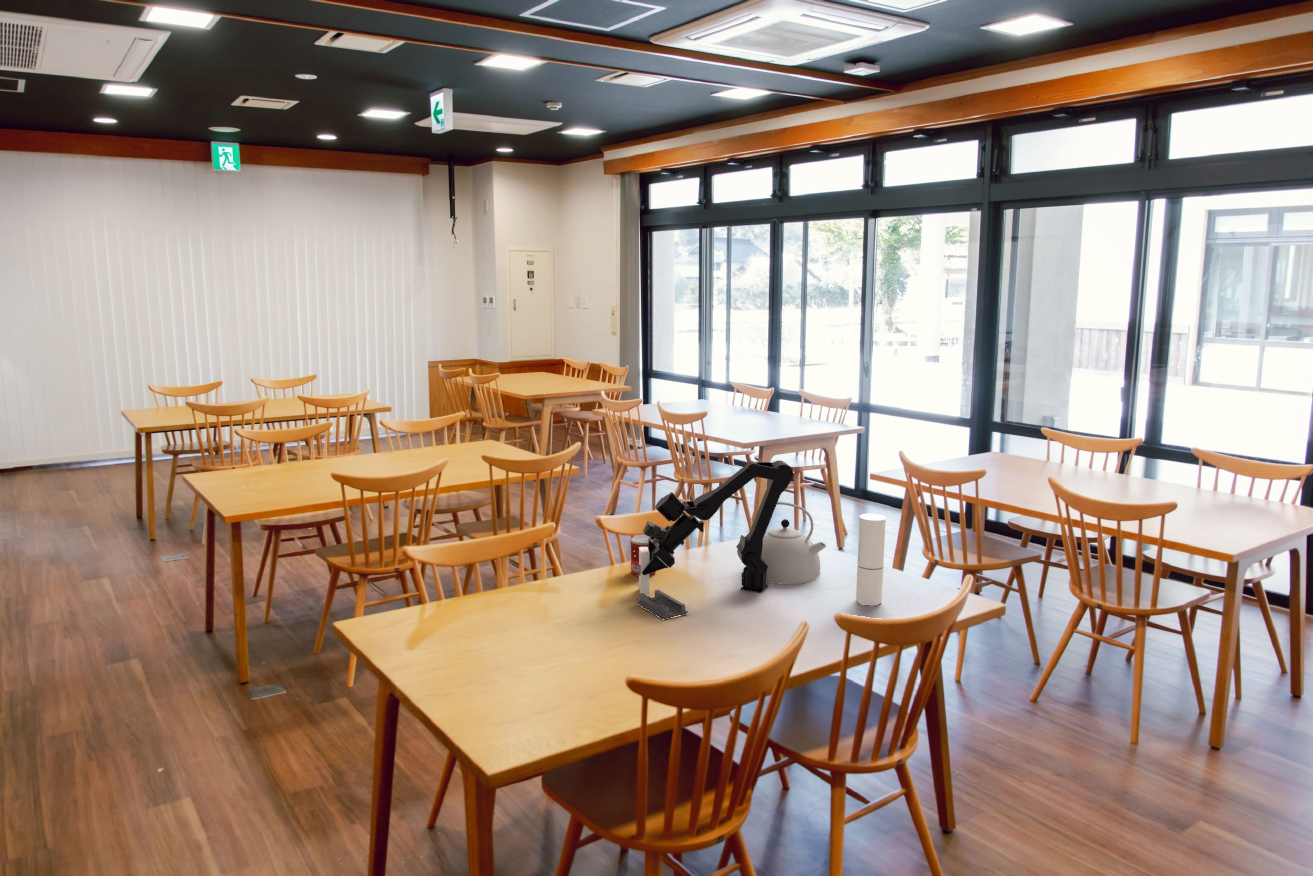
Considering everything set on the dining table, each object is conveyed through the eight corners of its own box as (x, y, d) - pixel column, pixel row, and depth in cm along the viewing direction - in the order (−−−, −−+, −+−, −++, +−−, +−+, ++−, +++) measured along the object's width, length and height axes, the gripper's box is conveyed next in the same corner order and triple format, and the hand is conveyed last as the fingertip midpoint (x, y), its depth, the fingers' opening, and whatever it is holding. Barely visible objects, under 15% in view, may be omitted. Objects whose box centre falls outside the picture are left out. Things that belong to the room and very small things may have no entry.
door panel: (647, 588, 267) (647, 546, 264) (649, 595, 261) (649, 552, 258) (637, 589, 266) (637, 547, 264) (639, 596, 260) (639, 553, 258)
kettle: (838, 569, 284) (840, 500, 280) (810, 590, 266) (813, 517, 261) (766, 556, 297) (767, 490, 293) (735, 575, 278) (736, 505, 274)
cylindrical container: (879, 597, 259) (883, 514, 255) (883, 606, 252) (887, 520, 248) (854, 596, 260) (858, 513, 256) (857, 605, 253) (861, 520, 249)
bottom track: (660, 599, 258) (660, 589, 257) (687, 614, 246) (687, 604, 246) (636, 604, 254) (636, 594, 253) (663, 620, 242) (663, 609, 242)
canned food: (656, 577, 277) (656, 542, 275) (630, 577, 277) (630, 542, 275) (656, 569, 284) (656, 535, 282) (631, 568, 284) (631, 535, 282)
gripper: (656, 505, 269) (619, 541, 270) (663, 521, 250) (624, 560, 251) (682, 529, 271) (645, 565, 272) (691, 548, 253) (651, 586, 254)
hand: (641, 569), depth 262 cm, fingers open, 9 cm apart
